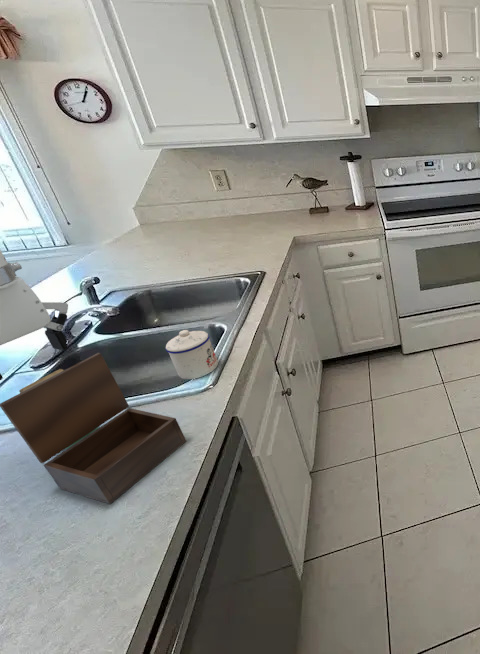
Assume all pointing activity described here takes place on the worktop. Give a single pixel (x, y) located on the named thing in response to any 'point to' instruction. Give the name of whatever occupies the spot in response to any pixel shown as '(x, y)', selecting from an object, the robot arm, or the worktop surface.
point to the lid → (65, 406)
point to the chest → (116, 455)
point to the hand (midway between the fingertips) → (30, 363)
